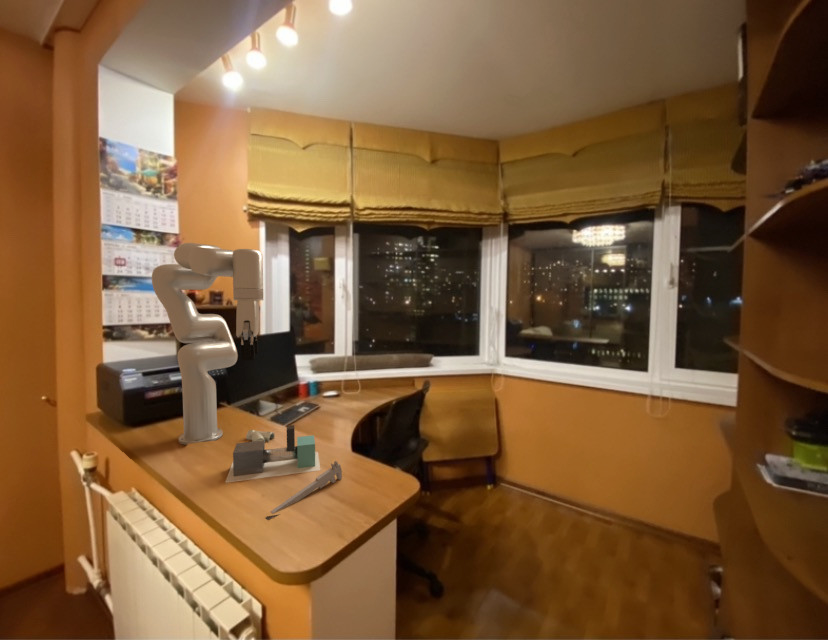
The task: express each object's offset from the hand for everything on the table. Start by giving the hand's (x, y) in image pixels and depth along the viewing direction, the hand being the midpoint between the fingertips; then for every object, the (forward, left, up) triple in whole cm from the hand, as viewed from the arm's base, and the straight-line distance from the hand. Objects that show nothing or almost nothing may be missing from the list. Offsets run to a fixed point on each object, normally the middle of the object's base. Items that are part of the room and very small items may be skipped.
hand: (250, 356), depth 103 cm
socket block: (+6, +15, -29) cm, 33 cm away
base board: (+6, +7, -30) cm, 32 cm away
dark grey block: (+6, 0, -29) cm, 30 cm away
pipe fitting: (-14, 0, -31) cm, 34 cm away
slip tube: (+6, +9, -28) cm, 30 cm away
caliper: (+24, +14, -31) cm, 41 cm away
